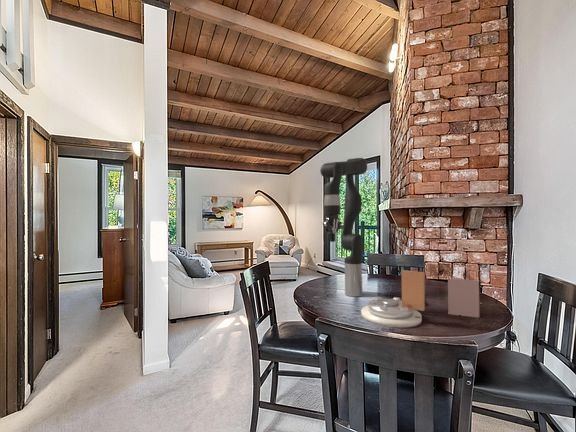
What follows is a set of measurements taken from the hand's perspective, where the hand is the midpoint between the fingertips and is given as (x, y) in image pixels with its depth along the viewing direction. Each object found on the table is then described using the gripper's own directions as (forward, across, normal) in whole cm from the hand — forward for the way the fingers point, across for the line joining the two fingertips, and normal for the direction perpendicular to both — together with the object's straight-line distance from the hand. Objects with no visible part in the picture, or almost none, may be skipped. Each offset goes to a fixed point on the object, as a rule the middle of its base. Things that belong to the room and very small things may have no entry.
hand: (332, 241), depth 140 cm
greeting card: (+31, +26, -48) cm, 63 cm away
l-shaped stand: (+29, +4, -28) cm, 40 cm away
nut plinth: (+31, +4, -26) cm, 41 cm away
